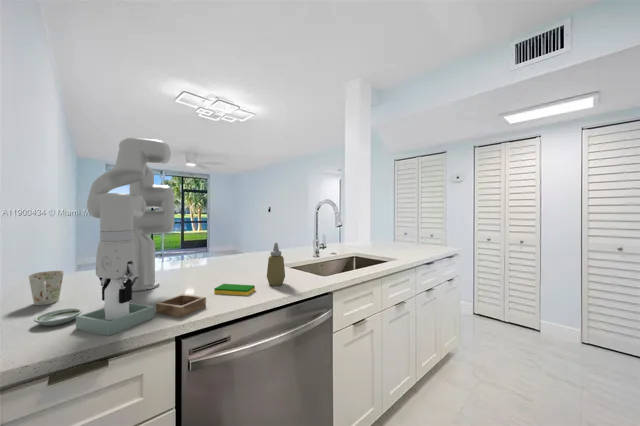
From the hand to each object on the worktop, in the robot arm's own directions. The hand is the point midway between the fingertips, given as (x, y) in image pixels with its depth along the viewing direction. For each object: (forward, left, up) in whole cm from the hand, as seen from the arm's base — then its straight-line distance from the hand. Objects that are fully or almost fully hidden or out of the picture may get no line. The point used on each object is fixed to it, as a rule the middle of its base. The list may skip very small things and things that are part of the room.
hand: (117, 299), depth 76 cm
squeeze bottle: (+23, +51, -7) cm, 56 cm away
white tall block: (0, 0, -5) cm, 5 cm away
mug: (-38, +3, -7) cm, 39 cm away
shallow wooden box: (+9, +14, -6) cm, 18 cm away
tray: (0, 0, -6) cm, 6 cm away
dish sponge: (+13, +36, -7) cm, 39 cm away
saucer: (-16, -5, -7) cm, 18 cm away
